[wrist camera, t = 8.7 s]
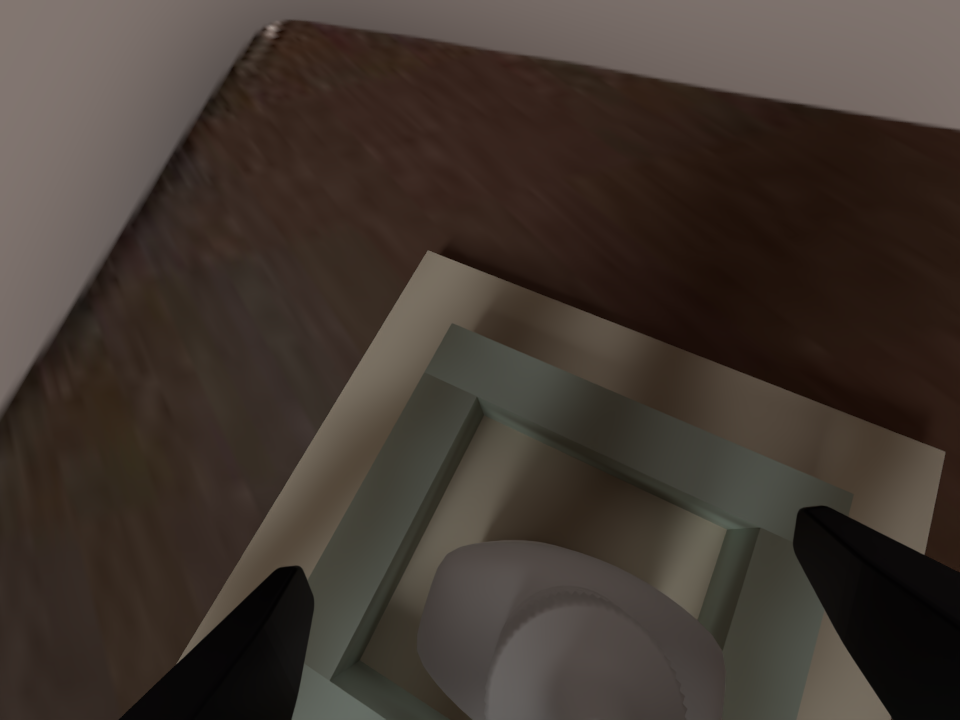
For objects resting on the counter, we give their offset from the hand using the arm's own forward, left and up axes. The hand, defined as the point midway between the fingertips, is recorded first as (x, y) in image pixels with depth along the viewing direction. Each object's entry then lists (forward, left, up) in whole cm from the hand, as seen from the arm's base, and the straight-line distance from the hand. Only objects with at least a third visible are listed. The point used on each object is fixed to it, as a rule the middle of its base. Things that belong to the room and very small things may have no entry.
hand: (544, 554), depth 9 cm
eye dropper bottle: (-1, +1, -8) cm, 8 cm away
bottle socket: (-1, +1, -9) cm, 9 cm away
